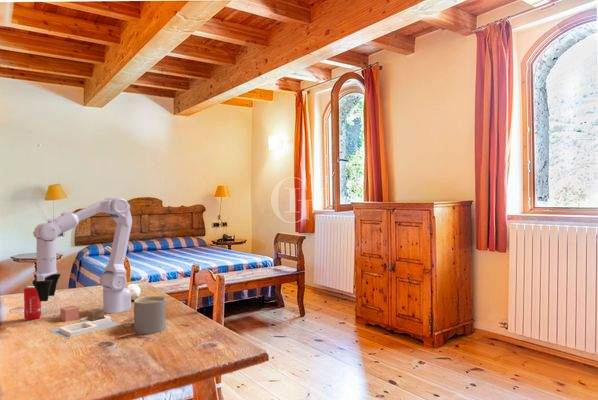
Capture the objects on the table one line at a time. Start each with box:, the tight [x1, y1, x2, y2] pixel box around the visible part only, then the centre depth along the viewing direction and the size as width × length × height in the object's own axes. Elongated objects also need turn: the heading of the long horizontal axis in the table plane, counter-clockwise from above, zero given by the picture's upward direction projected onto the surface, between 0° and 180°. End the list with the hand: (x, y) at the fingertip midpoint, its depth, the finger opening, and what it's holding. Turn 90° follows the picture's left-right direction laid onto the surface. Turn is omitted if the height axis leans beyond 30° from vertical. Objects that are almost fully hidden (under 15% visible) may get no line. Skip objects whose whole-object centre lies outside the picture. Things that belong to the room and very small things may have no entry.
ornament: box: [124, 281, 142, 302], centre depth 179 cm, size 7×7×8 cm
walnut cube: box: [86, 307, 105, 322], centre depth 145 cm, size 4×4×4 cm
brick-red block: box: [59, 305, 80, 322], centre depth 149 cm, size 4×4×5 cm
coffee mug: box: [133, 295, 167, 335], centre depth 141 cm, size 13×10×10 cm
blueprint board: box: [47, 314, 122, 339], centre depth 139 cm, size 18×14×2 cm
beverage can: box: [23, 284, 42, 322], centre depth 152 cm, size 5×5×12 cm
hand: (47, 298), depth 142 cm, fingers open, 7 cm apart
